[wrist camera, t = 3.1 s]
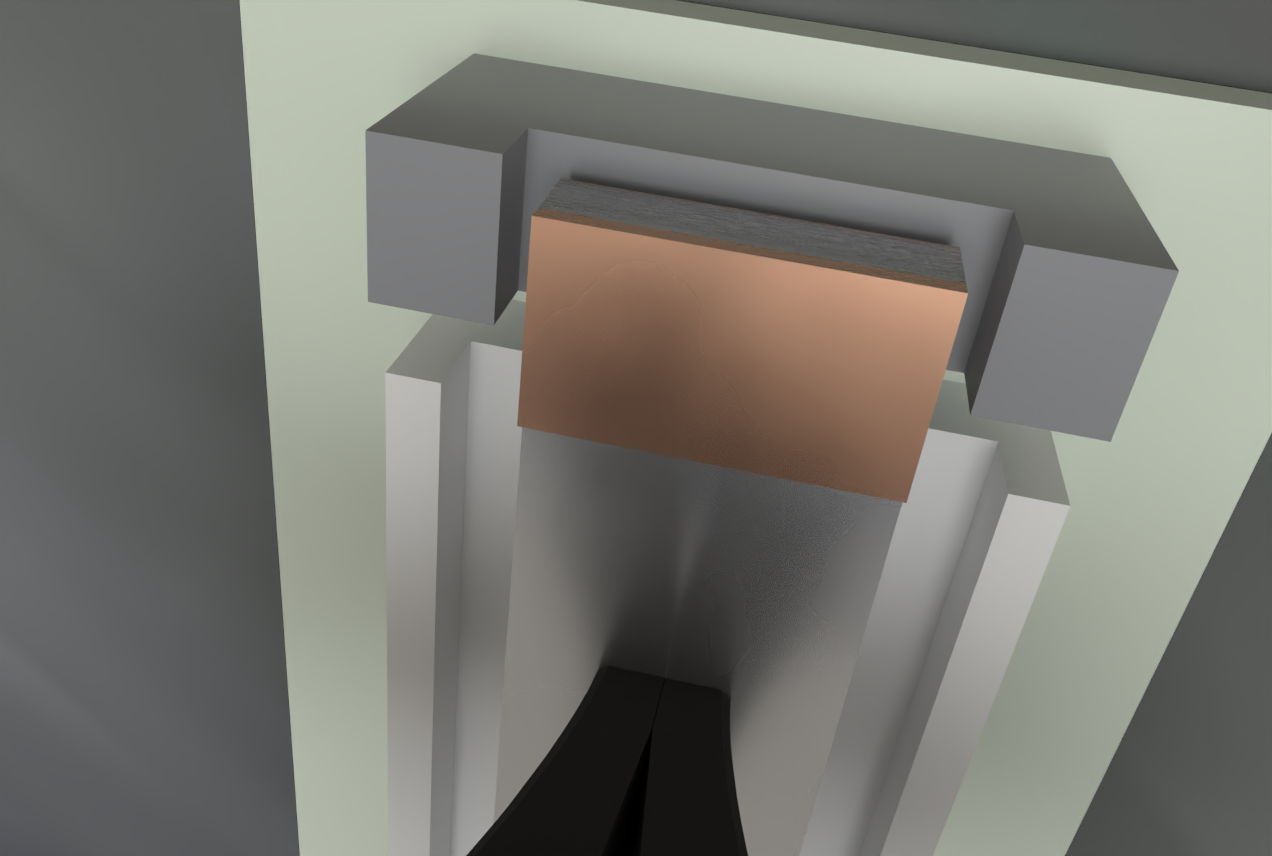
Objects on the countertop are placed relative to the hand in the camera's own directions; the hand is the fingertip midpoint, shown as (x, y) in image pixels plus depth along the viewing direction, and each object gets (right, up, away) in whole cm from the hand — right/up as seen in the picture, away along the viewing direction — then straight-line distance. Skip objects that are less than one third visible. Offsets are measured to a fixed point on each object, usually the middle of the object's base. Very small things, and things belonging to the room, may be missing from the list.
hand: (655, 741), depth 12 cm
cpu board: (+1, 0, +5) cm, 5 cm away
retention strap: (0, -1, +1) cm, 2 cm away
